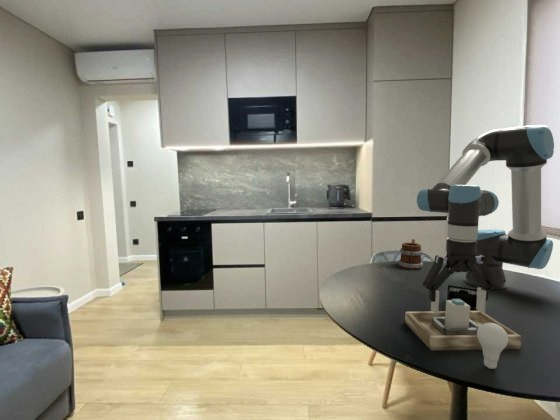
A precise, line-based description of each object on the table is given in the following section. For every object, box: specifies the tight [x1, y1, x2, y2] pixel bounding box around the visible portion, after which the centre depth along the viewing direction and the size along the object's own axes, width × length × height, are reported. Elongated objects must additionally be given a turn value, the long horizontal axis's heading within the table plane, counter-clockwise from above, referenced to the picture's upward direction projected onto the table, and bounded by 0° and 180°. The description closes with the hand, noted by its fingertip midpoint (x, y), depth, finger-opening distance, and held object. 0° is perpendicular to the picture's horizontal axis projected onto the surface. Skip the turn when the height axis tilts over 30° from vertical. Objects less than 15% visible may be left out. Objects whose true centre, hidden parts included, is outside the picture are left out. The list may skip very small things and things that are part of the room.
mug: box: [397, 239, 424, 271], centre depth 160 cm, size 12×14×15 cm
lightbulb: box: [477, 323, 508, 370], centre depth 74 cm, size 6×6×11 cm
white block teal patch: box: [445, 299, 470, 328], centre depth 91 cm, size 4×4×9 cm
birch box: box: [404, 310, 522, 351], centre depth 90 cm, size 24×16×4 cm, turn 92°
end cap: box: [446, 284, 479, 311], centre depth 110 cm, size 10×7×7 cm
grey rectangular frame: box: [431, 317, 480, 336], centre depth 91 cm, size 11×8×2 cm
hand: (457, 311), depth 91 cm, fingers open, 13 cm apart
